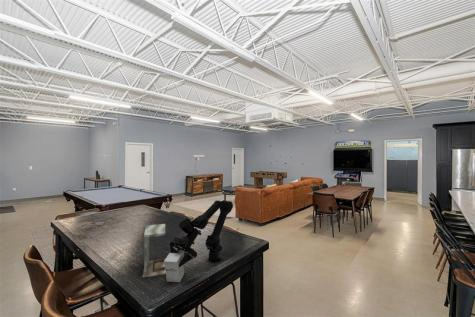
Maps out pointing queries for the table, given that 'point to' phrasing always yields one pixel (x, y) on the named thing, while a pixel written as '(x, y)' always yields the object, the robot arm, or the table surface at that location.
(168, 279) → the supplement box
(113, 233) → the table surface
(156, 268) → the awning stand
